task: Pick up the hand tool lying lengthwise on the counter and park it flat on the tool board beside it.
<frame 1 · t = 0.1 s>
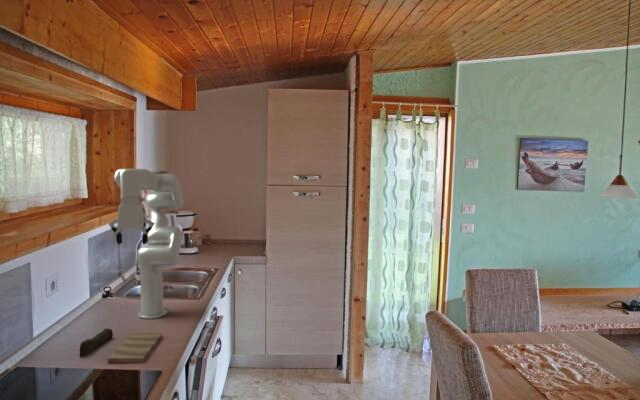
hand: (132, 243, 189), 37 cm above the worktop, tool pointing down, fingers open, 9 cm apart
tool board: (137, 348, 176), on the worktop
hand tool: (96, 347, 179), on the worktop
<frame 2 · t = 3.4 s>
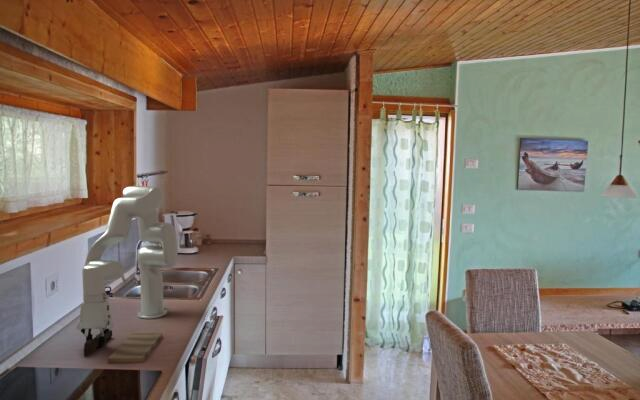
hand: (96, 345, 178), 0 cm above the worktop, tool pointing down, fingers open, 3 cm apart
hand tool: (98, 347, 179), on the worktop, touching gripper
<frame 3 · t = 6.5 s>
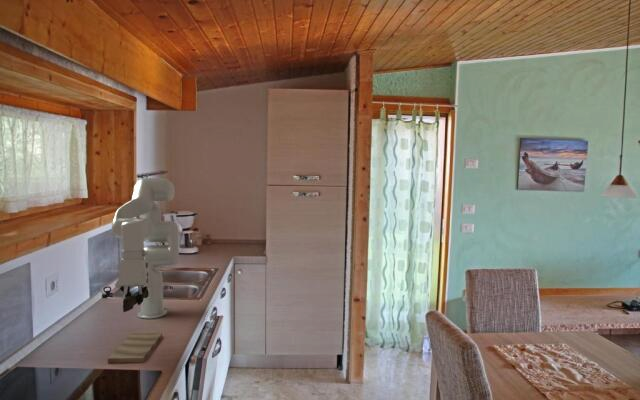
hand: (134, 303, 175), 17 cm above the worktop, tool pointing down, fingers closed on hand tool, 3 cm apart
hand tool: (135, 305, 175), point 16 cm above the worktop, touching gripper
when the fingers open (3 cm above the worktop, at t = 9.5 s): hand tool drops 1 cm, resting on tool board.
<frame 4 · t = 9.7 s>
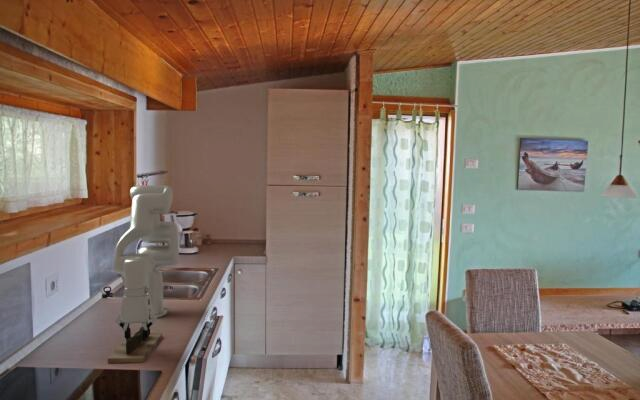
hand: (136, 339, 176), 4 cm above the worktop, tool pointing down, fingers open, 5 cm apart
hand tool: (138, 345, 177), point 1 cm above the worktop, touching tool board
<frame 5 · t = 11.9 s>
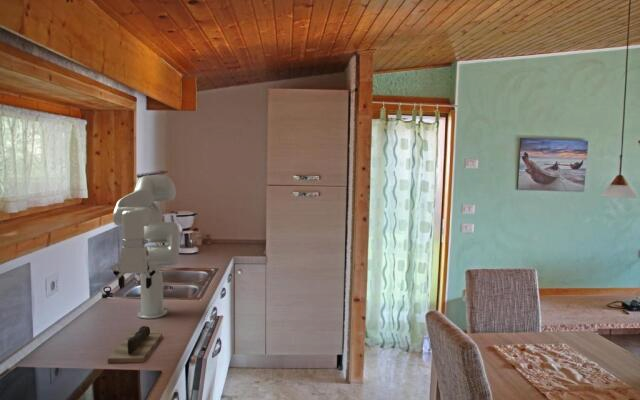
hand: (135, 287, 179), 22 cm above the worktop, tool pointing down, fingers open, 9 cm apart
nothing on the worktop moved.
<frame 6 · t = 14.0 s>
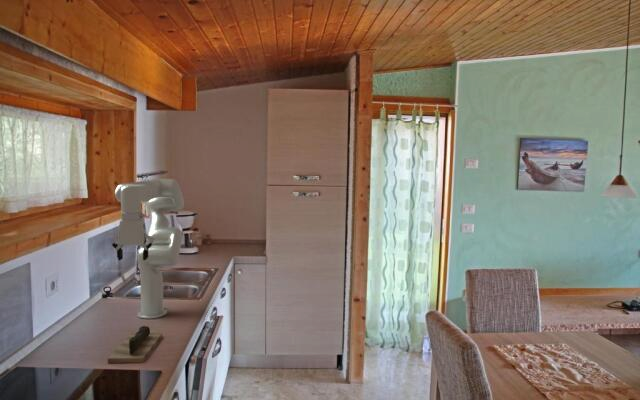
hand: (132, 259, 190), 30 cm above the worktop, tool pointing down, fingers open, 9 cm apart
nothing on the worktop moved.
at the end: hand tool inside the target area on the tool board (0.9 cm from its centre), point 1.3 cm above the tool board's base; hand tool touching tool board; the gripper is holding nothing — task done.
